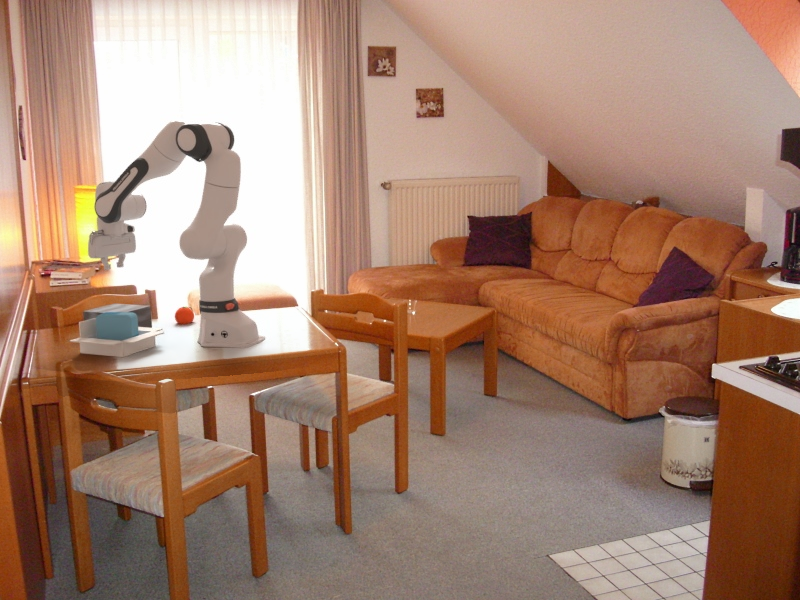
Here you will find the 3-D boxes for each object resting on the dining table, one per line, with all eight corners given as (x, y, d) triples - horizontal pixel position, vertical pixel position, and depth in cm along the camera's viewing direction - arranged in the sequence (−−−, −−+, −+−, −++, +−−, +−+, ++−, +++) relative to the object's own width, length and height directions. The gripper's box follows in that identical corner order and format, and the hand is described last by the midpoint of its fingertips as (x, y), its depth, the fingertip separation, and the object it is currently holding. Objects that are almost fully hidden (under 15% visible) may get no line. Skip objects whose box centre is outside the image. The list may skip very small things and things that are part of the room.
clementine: (186, 322, 299) (185, 303, 297) (200, 323, 295) (199, 305, 294) (171, 326, 292) (170, 307, 290) (185, 328, 288) (184, 308, 287)
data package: (140, 348, 257) (137, 312, 255) (133, 351, 253) (130, 315, 251) (105, 347, 259) (102, 311, 257) (98, 351, 254) (95, 314, 252)
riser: (152, 330, 285) (150, 305, 283) (121, 339, 270) (119, 313, 269) (116, 327, 291) (114, 303, 289) (84, 336, 276) (82, 311, 274)
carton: (173, 344, 262) (171, 314, 261) (124, 361, 241) (122, 329, 239) (123, 339, 270) (120, 311, 268) (71, 356, 248) (68, 324, 246)
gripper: (96, 231, 263) (99, 272, 266) (137, 226, 282) (140, 265, 285) (81, 231, 266) (85, 272, 268) (123, 226, 284) (126, 264, 287)
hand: (113, 268), depth 276 cm, fingers open, 5 cm apart
